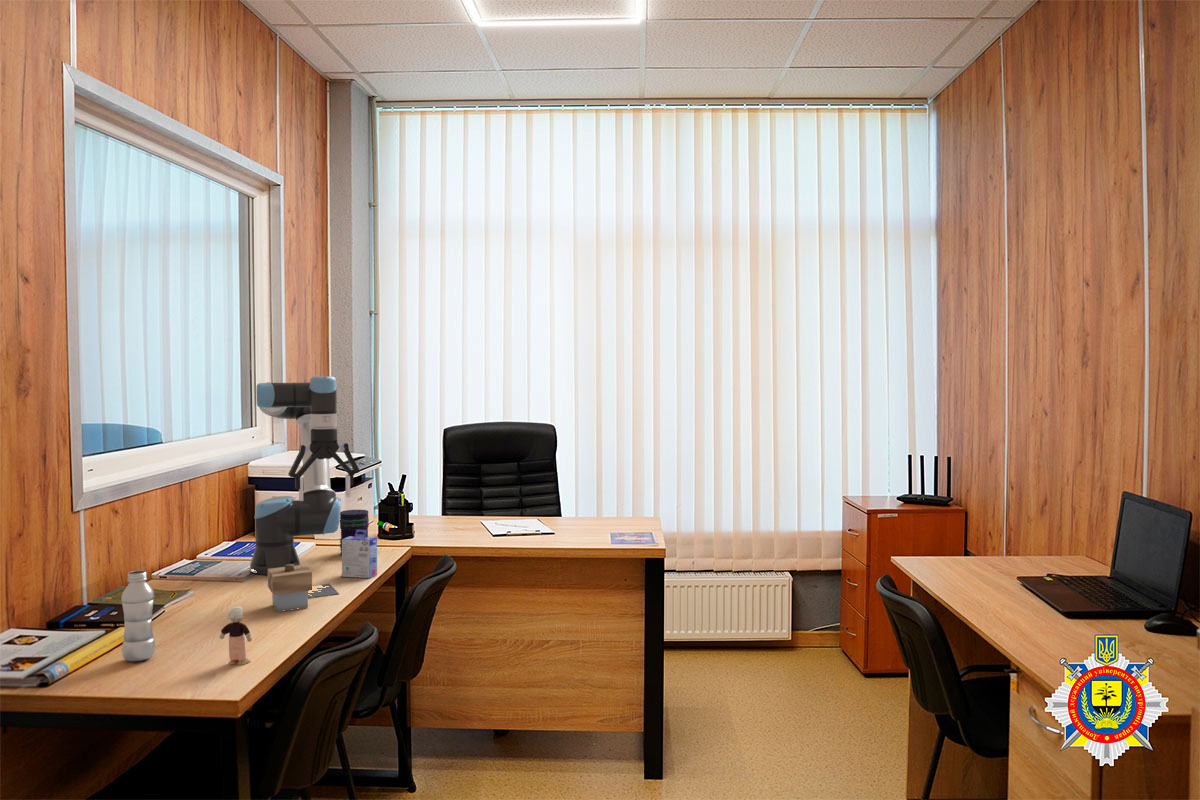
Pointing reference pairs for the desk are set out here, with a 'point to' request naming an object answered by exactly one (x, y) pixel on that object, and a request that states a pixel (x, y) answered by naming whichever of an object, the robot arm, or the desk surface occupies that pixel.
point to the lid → (289, 579)
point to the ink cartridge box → (359, 556)
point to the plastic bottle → (138, 618)
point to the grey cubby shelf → (290, 600)
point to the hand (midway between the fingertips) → (324, 498)
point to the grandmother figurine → (236, 637)
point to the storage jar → (353, 523)
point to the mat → (324, 591)
